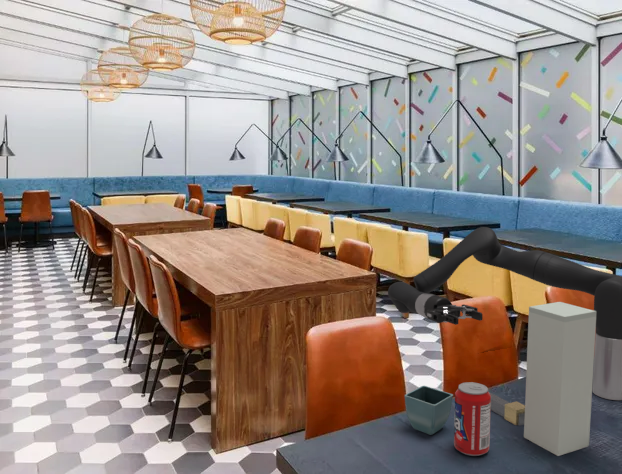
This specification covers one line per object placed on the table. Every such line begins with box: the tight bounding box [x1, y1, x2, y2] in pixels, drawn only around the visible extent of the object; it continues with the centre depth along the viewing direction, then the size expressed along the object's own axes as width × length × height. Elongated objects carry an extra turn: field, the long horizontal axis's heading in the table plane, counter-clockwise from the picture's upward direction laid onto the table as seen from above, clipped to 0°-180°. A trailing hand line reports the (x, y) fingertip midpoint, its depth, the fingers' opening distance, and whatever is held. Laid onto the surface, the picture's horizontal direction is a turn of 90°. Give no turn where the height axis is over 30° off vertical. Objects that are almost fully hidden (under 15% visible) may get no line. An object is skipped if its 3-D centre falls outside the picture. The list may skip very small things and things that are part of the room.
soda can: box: [453, 381, 492, 457], centre depth 132 cm, size 8×8×15 cm
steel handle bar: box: [488, 391, 525, 427], centre depth 154 cm, size 4×19×4 cm, turn 24°
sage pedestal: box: [523, 301, 596, 457], centre depth 134 cm, size 10×10×32 cm
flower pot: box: [404, 385, 454, 436], centre depth 143 cm, size 9×9×9 cm
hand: (469, 318), depth 161 cm, fingers open, 8 cm apart
